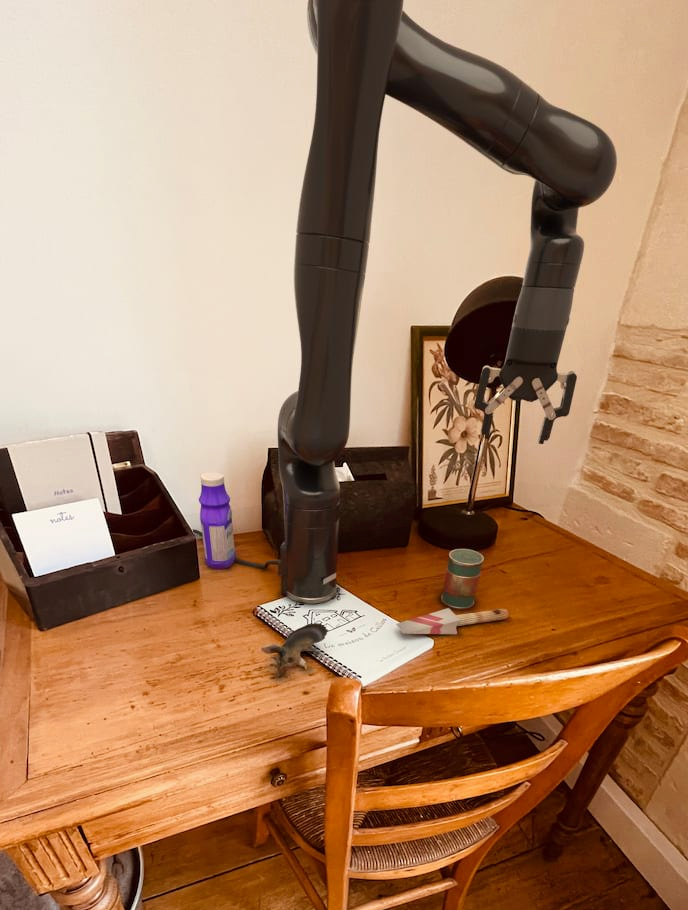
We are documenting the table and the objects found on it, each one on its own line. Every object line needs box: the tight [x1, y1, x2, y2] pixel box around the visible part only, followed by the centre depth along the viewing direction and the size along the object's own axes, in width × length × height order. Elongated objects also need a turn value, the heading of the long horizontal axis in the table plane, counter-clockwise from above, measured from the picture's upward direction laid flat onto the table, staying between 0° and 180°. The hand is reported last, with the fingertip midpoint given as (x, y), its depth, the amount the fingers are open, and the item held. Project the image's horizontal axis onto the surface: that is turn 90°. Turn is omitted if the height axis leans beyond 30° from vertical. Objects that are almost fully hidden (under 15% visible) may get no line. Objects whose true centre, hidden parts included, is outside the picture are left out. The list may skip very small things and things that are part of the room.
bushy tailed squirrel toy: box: [260, 622, 329, 678], centre depth 77 cm, size 8×7×9 cm
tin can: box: [440, 548, 485, 611], centre depth 91 cm, size 6×6×9 cm
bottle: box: [198, 471, 236, 570], centre depth 98 cm, size 7×6×17 cm
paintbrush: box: [395, 607, 509, 635], centre depth 86 cm, size 4×3×20 cm
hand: (513, 440), depth 85 cm, fingers open, 8 cm apart
